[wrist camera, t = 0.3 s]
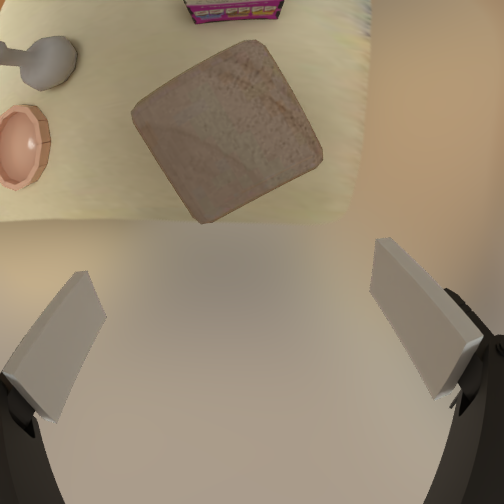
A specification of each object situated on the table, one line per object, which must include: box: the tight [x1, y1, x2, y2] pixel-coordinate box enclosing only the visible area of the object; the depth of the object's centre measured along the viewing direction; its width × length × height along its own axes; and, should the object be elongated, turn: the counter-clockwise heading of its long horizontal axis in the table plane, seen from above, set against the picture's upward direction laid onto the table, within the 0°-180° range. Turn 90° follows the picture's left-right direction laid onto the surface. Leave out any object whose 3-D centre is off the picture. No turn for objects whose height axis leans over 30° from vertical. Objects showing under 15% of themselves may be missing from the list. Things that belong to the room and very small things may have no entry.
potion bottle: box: [0, 36, 77, 91], centre depth 18 cm, size 9×9×18 cm
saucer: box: [0, 105, 51, 191], centre depth 30 cm, size 14×14×2 cm
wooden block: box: [131, 40, 323, 224], centre depth 25 cm, size 10×10×20 cm
